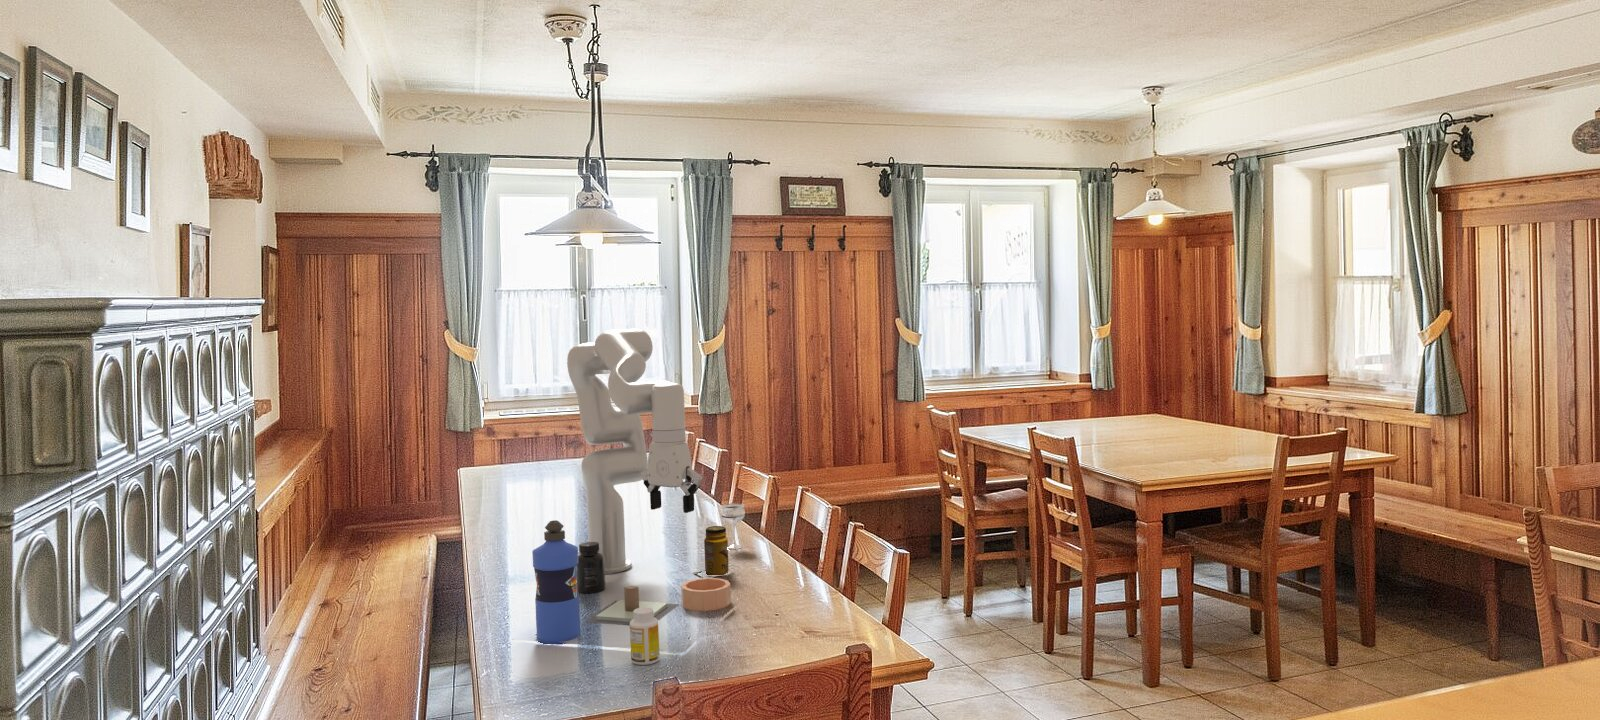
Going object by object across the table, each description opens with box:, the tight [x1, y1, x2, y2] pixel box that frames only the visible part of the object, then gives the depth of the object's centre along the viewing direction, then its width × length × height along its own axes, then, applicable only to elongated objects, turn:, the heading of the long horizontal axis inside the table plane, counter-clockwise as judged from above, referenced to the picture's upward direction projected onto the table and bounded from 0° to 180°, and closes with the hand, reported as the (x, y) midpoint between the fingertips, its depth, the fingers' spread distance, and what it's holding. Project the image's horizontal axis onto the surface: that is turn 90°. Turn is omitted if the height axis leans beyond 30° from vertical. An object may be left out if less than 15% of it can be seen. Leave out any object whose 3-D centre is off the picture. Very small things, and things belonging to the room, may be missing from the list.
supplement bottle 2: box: [629, 607, 660, 666], centre depth 201 cm, size 6×6×10 cm
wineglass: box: [720, 502, 746, 548], centre depth 290 cm, size 7×7×12 cm
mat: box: [583, 600, 680, 626], centre depth 231 cm, size 16×16×1 cm
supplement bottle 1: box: [576, 541, 606, 595], centre depth 250 cm, size 7×7×12 cm
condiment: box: [692, 525, 729, 575], centre depth 263 cm, size 7×8×12 cm
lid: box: [596, 585, 668, 622], centre depth 230 cm, size 12×12×6 cm
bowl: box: [680, 577, 732, 612], centre depth 236 cm, size 11×11×5 cm
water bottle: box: [532, 520, 582, 645], centre depth 216 cm, size 9×9×25 cm
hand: (672, 510), depth 237 cm, fingers open, 9 cm apart
